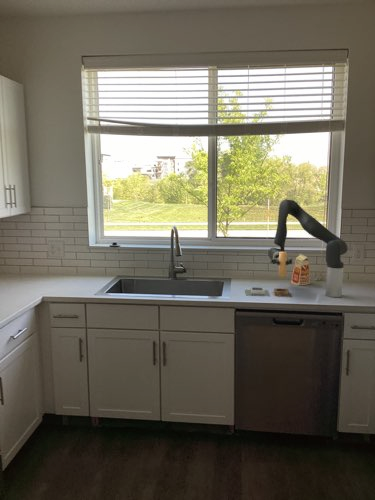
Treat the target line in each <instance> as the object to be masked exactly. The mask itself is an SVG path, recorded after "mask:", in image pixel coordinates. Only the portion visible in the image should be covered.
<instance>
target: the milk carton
mask: <svg viewBox="0 0 375 500" xmlns="http://www.w3.org/2000/svg"><path fill="white" fill-rule="evenodd" d="M291 276H292V277H291V281H290V283H291V284H294V285H296V286H305V285H306V286H307V285H309V284H310V281H311V279H310V278H311V277H310V263H309V259H308V256H306V255H303V254H302V253H299V255H298V256H296V259H295V262H294V267H293V270H292V275H291Z"/></svg>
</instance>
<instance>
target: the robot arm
mask: <svg viewBox="0 0 375 500" xmlns="http://www.w3.org/2000/svg"><path fill="white" fill-rule="evenodd" d="M289 215H290V216H292V217H293V218H294V219H296V220H297V221H298V222H299V224H300V225H301V227H302V229H303V230H304V231H305V232H306V233H307V234H308V235H309V236H312V237H313V238H315V239H318V240H320V241H322V242H324V243H325V244H326V248H325V263H326V276H325V277H326V279H325V294H324V295H325V296H327V297H331V298H342V297H343V281H344V268H345V267H344V266H345V265H344V262H342V261H341V256H342V255H344V254H346V253H347V252H348V245H347V243H346V242H345V241H344V240H343V239H342V238H340V237H339V236H337V235H335V234H334V233H333V232H331V231H330V230H329V229H328V228H327V227H326V226H324V225H323V224H322V223H321V222H319V220H317V218H315V217H314V216H312V215H311V214H310V213H308V212H306V211H305V209H303V208H302V207H301V205H299V204H298V202H297V201H295V200H292V199H283V200H280V203H279V206H278V217H277V224H276V225H277V227H276V232H275V234H274V240H273V244H274V245H275V246H279V247H280V248H276V247H270V248H269V249H268V252H267V255H268V258H269V263H271V264H273V265H275V264H276V265H278V266H279V265H280V261H279V252H286V250H285V244H286V240H287V235H288V227H287V220H288V216H289ZM292 264H293V258H292V257H291V258H288V257H287V264H286V266H289V265H292Z"/></svg>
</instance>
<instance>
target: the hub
mask: <svg viewBox="0 0 375 500" xmlns="http://www.w3.org/2000/svg"><path fill="white" fill-rule="evenodd" d="M249 288H250V289H244V293H245V296H246V297H247V296H248V297H271V294H270V292H269V290H268V289H267V290H266V289H265V288H264V287H263V286H261V287H259V286H257V287H256V286H250V287H249Z"/></svg>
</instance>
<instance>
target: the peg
mask: <svg viewBox="0 0 375 500" xmlns="http://www.w3.org/2000/svg"><path fill="white" fill-rule="evenodd" d="M287 258H288V252H287V251H285V252H279V261H280V265H278V274H277V275H278V277H287V265H286V264H287Z"/></svg>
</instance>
